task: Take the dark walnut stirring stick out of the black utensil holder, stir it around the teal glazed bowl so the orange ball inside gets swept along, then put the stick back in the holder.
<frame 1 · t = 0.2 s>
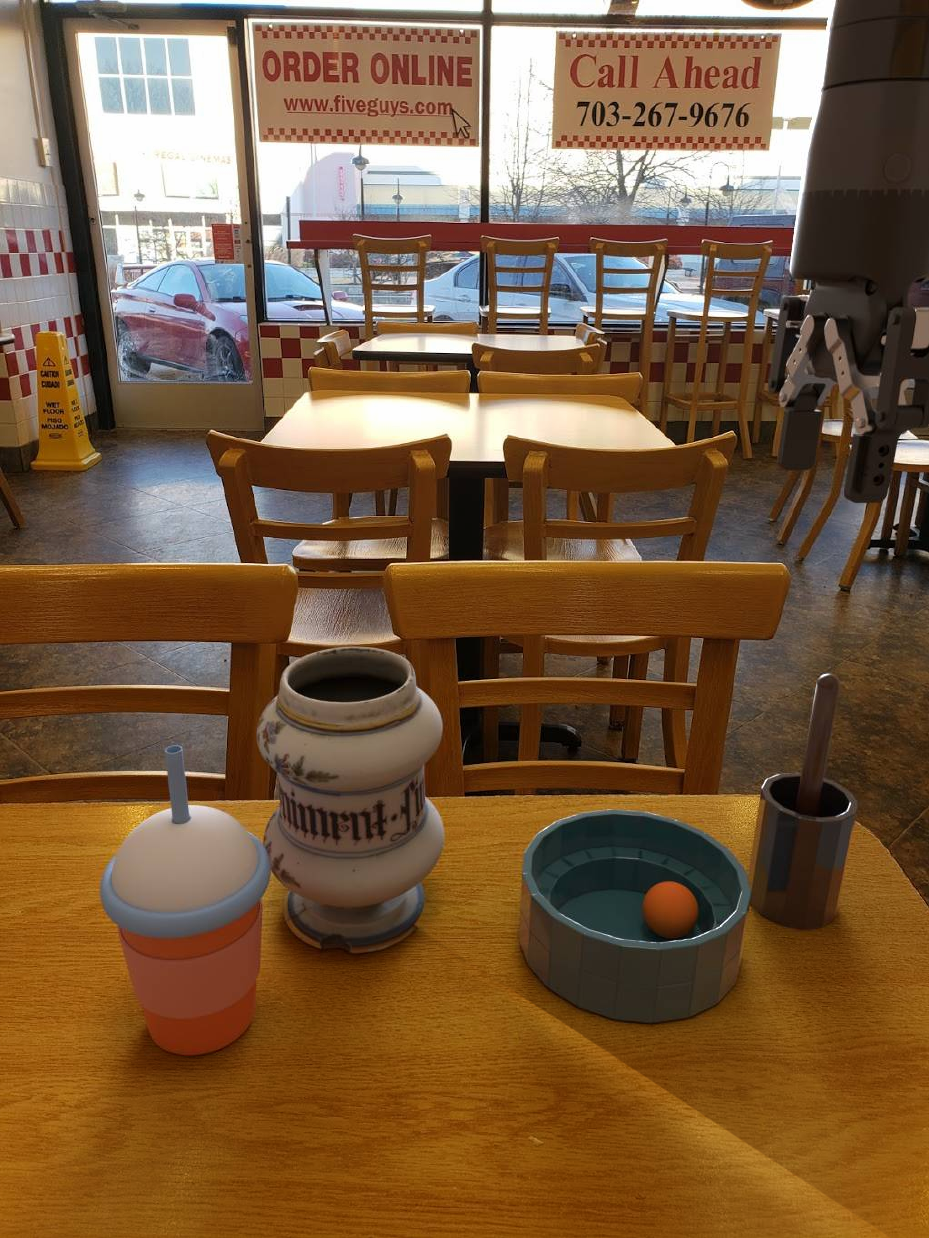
hand: (826, 484, 56), 30 cm above the table, tool pointing down, fingers open, 8 cm apart
holder: (789, 906, 66), on the table
apothecary jar: (356, 908, 65), on the table
cup with straw: (202, 1018, 56), on the table
bowl: (627, 947, 62), on the table
stirring stick: (790, 900, 66), resting on holder
ball: (670, 909, 62), point 2 cm above the table, touching bowl
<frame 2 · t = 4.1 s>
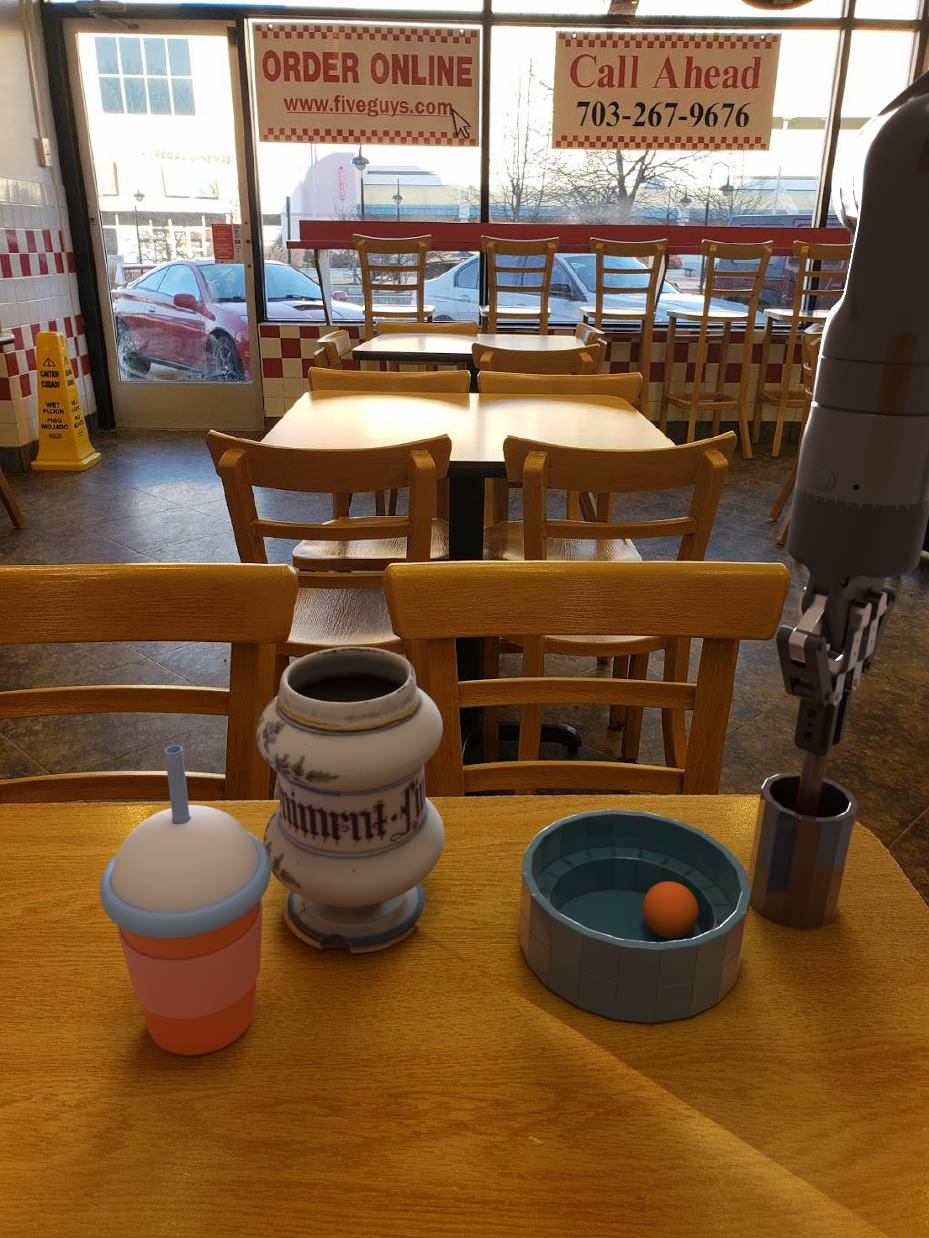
hand: (818, 743, 61), 13 cm above the table, tool pointing down, fingers closed on stirring stick, 1 cm apart
stirring stick: (791, 900, 66), point 1 cm above the table, touching gripper, holder
everything else where it was.
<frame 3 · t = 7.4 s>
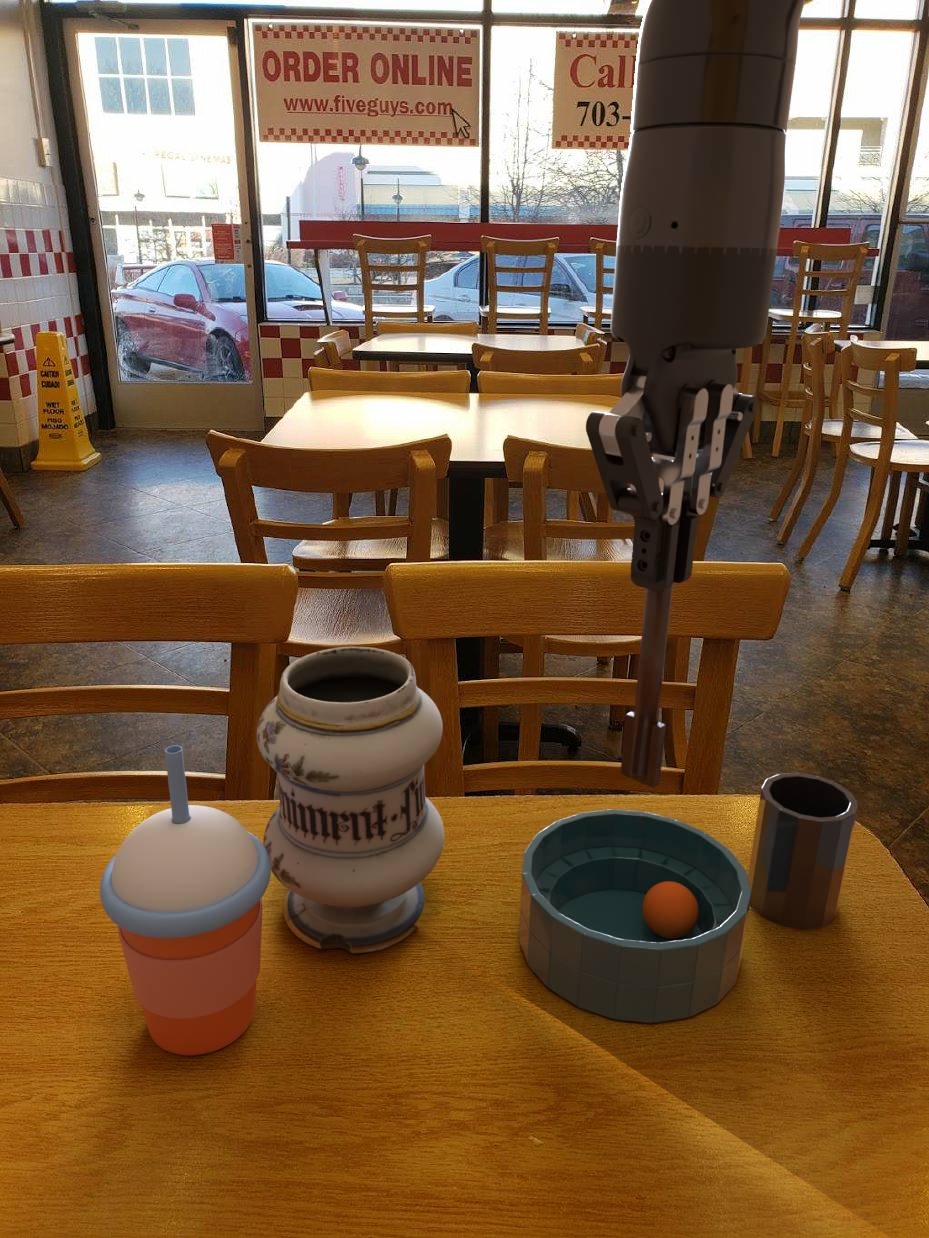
hand: (660, 581, 51), 26 cm above the table, tool pointing down, fingers closed on stirring stick, 1 cm apart
stirring stick: (639, 779, 56), point 14 cm above the table, touching gripper
everything else where it was.
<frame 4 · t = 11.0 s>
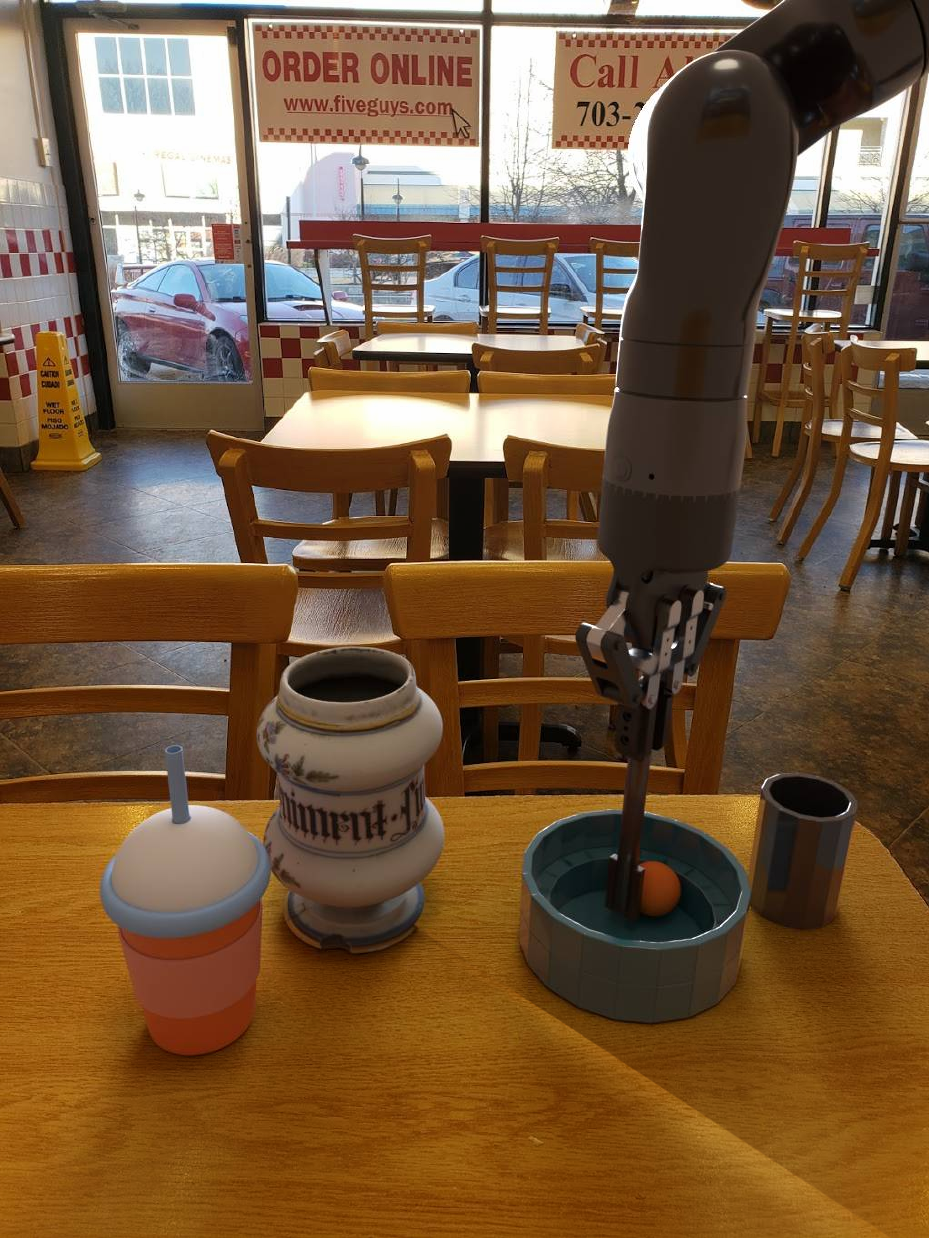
hand: (640, 749, 58), 14 cm above the table, tool pointing down, fingers closed on stirring stick, 1 cm apart
stirring stick: (621, 912, 63), point 1 cm above the table, touching ball, gripper
ball: (653, 888, 64), point 3 cm above the table, tilted 28°, touching bowl, stirring stick
everything else where it was.
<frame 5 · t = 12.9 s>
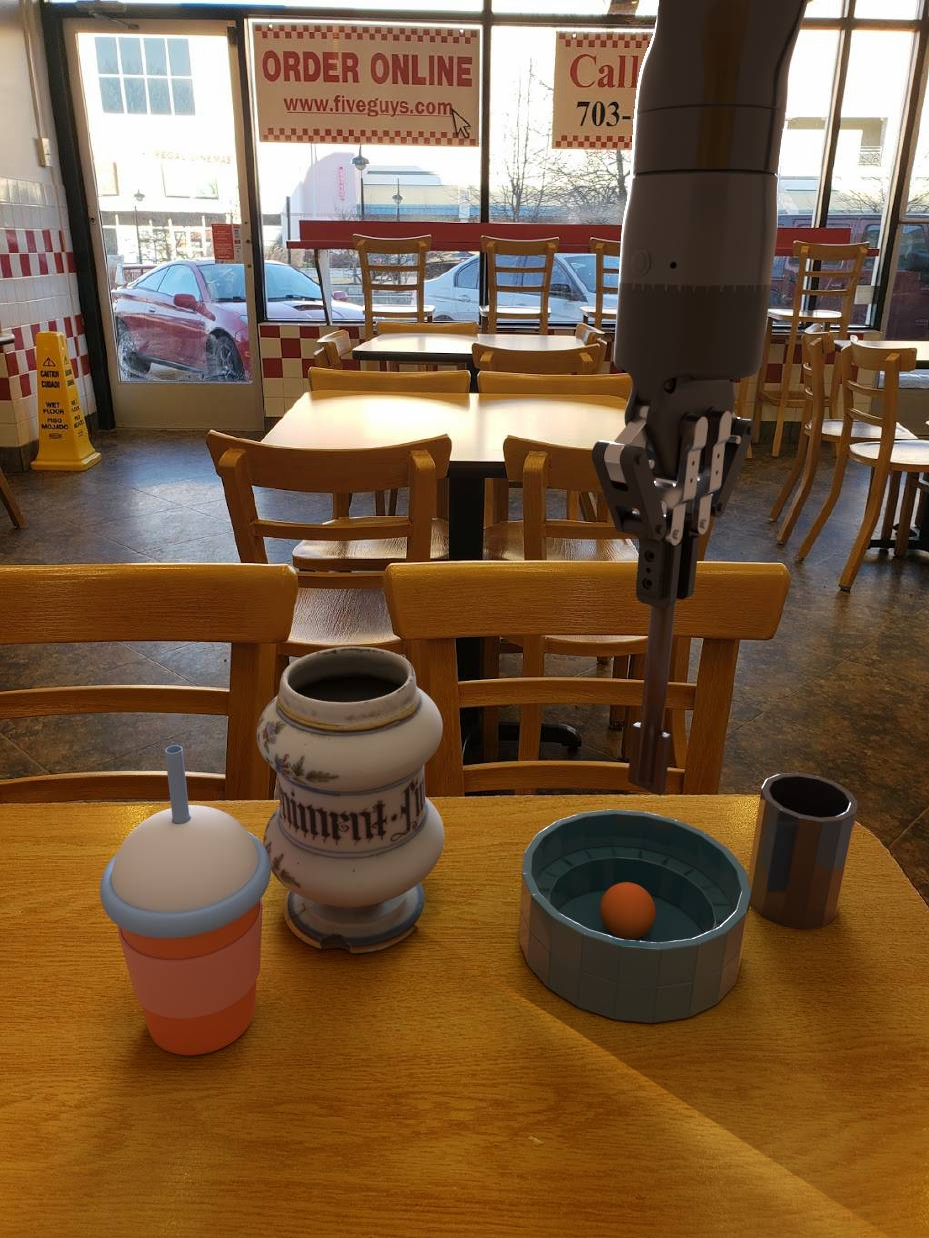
hand: (664, 598, 54), 24 cm above the table, tool pointing down, fingers closed on stirring stick, 1 cm apart
stirring stick: (646, 787, 58), point 12 cm above the table, touching gripper
ball: (627, 910, 62), point 2 cm above the table, tilted 71°, touching bowl
everything else where it was.
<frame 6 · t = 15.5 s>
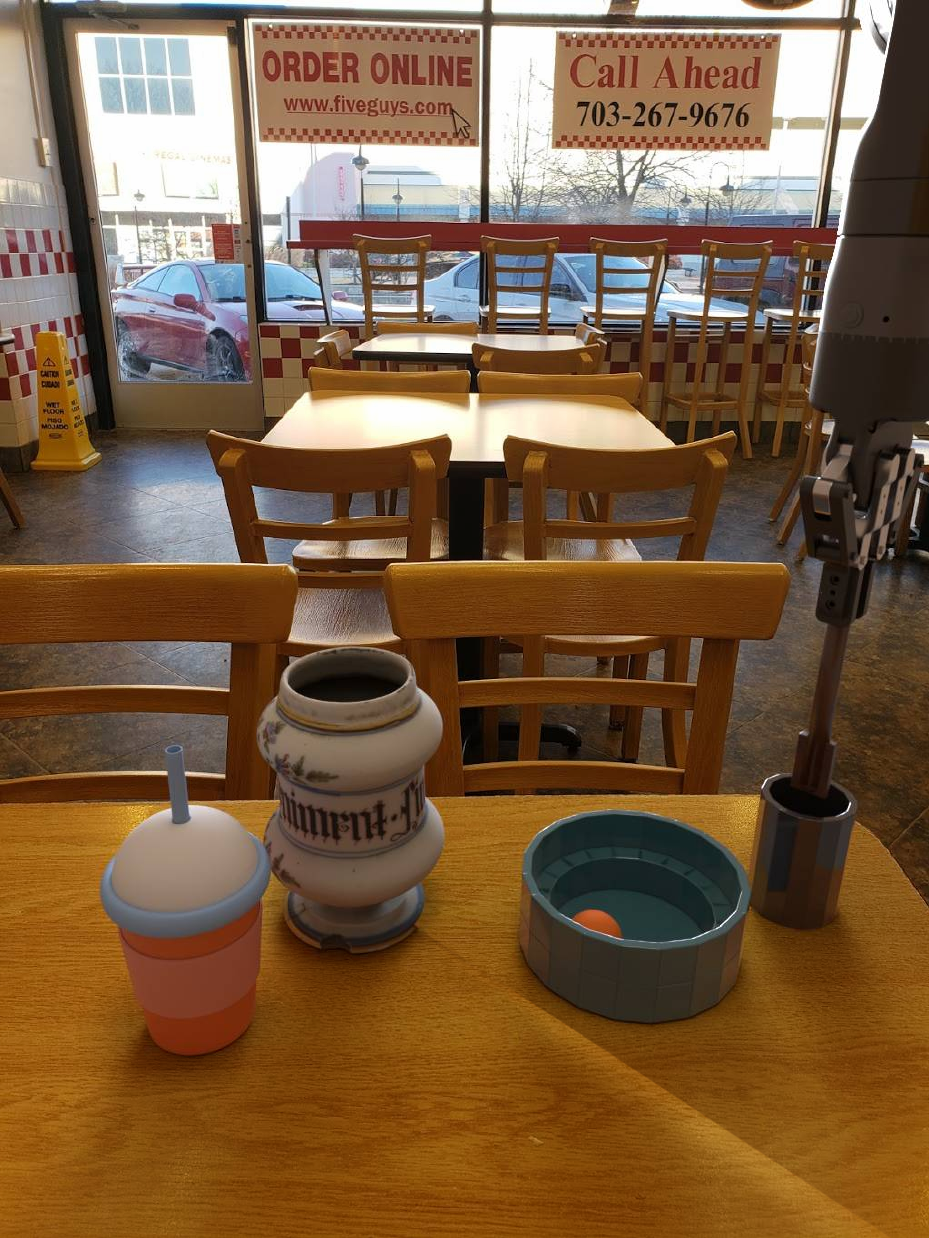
hand: (840, 617, 58), 22 cm above the table, tool pointing down, fingers closed on stirring stick, 1 cm apart
stirring stick: (809, 791, 63), point 9 cm above the table, touching gripper
ball: (593, 939, 59), point 2 cm above the table, tilted 158°, touching bowl
everything else where it was.
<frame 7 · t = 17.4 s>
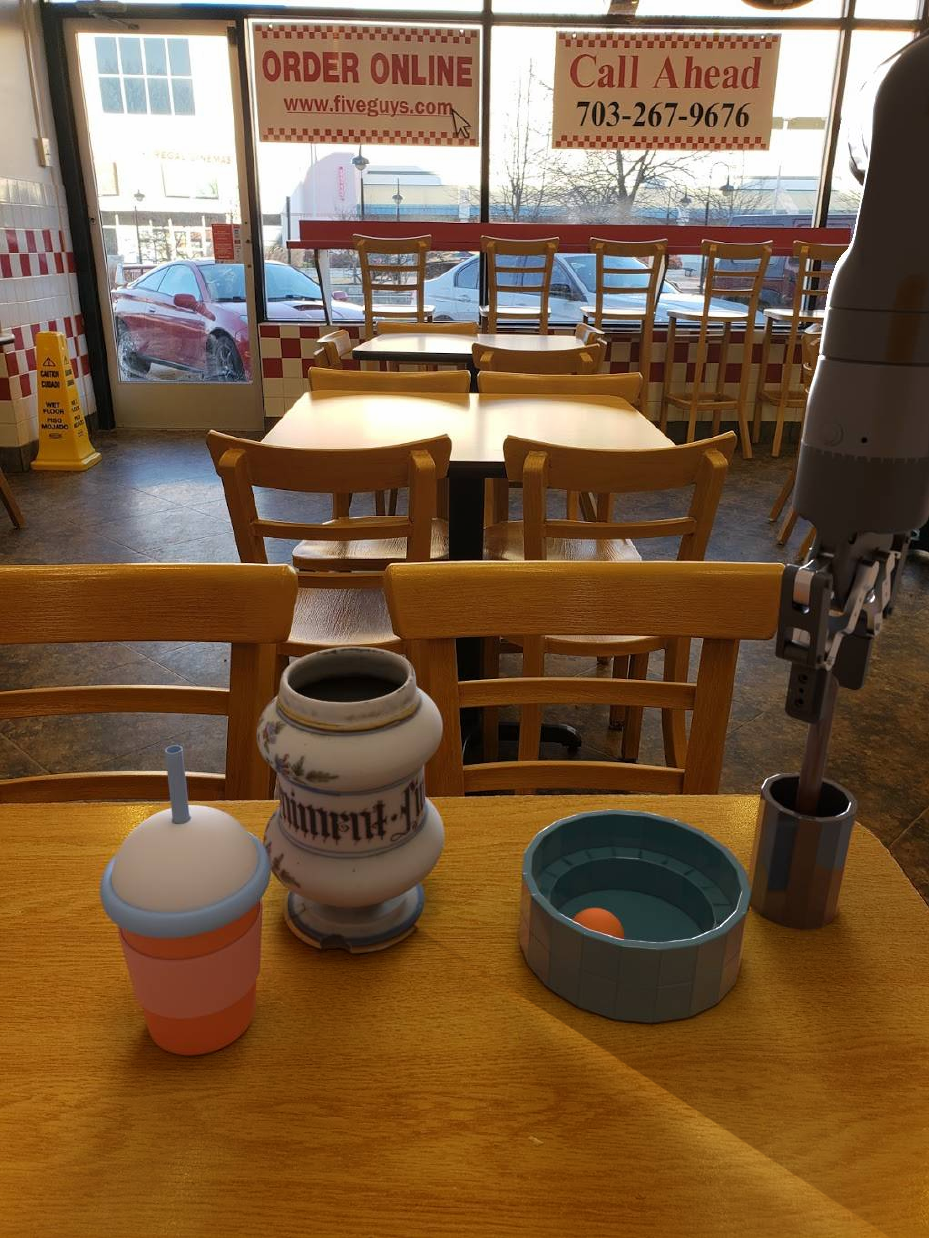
hand: (825, 700, 60), 16 cm above the table, tool pointing down, fingers open, 6 cm apart
stirring stick: (790, 900, 66), resting on holder
everything else where it was.
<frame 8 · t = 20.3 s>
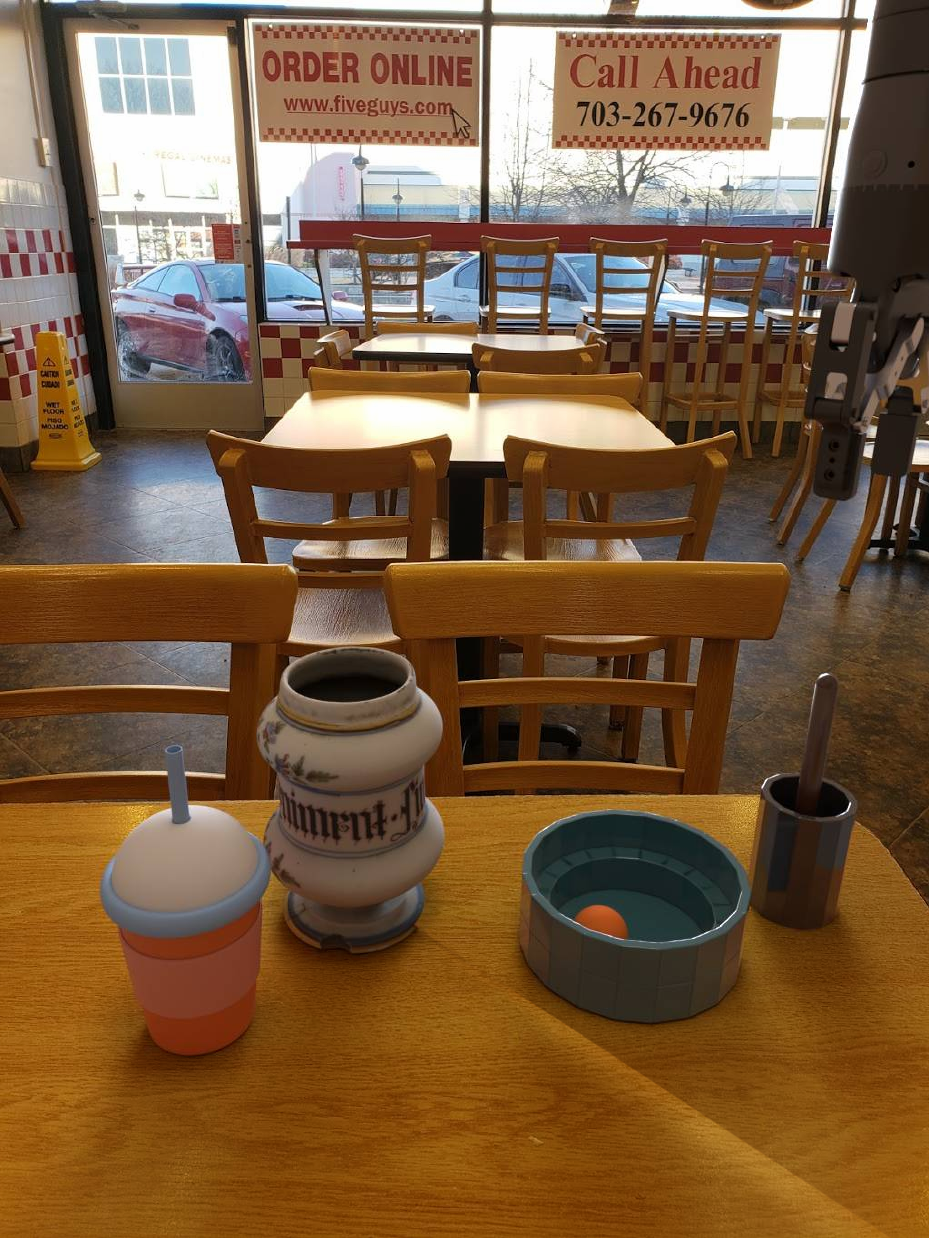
hand: (862, 486, 55), 30 cm above the table, tool pointing down, fingers open, 8 cm apart
at the end: ball moved 5.6 cm from its start; ball inside the target area in the bowl (2.7 cm from its centre), point 2.4 cm above the bowl's base; stirring stick 0.1 cm off-centre in the holder, point 0.5 cm above the holder's base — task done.
